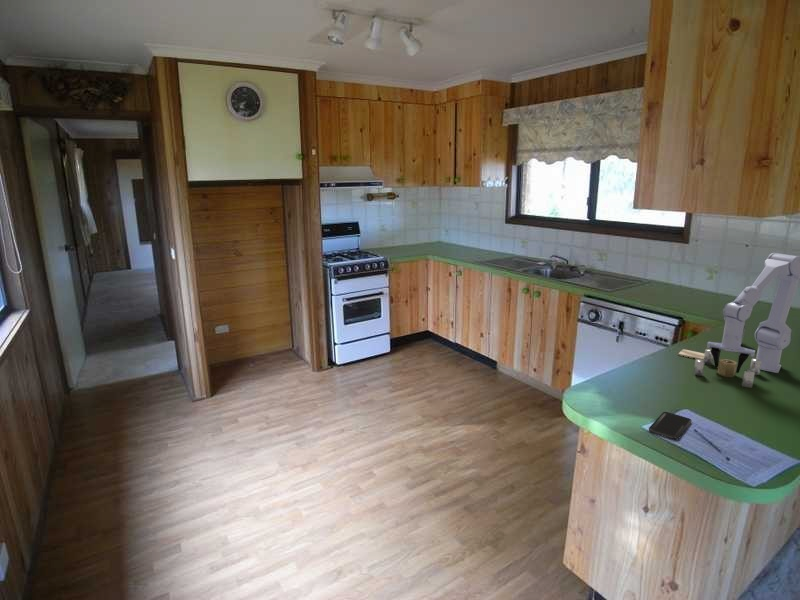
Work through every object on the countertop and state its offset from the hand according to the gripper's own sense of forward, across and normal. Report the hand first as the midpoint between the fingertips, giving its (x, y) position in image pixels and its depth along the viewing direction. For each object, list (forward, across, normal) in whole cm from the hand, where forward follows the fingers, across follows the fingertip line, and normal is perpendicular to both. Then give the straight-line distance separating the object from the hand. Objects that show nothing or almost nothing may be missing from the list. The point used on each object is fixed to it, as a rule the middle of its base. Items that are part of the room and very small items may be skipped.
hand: (726, 369), depth 176 cm
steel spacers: (+2, 0, 0) cm, 2 cm away
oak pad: (+2, -14, +13) cm, 19 cm away
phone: (+2, -4, -56) cm, 56 cm away
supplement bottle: (+2, -5, +42) cm, 42 cm away
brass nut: (+2, 0, 0) cm, 2 cm away
